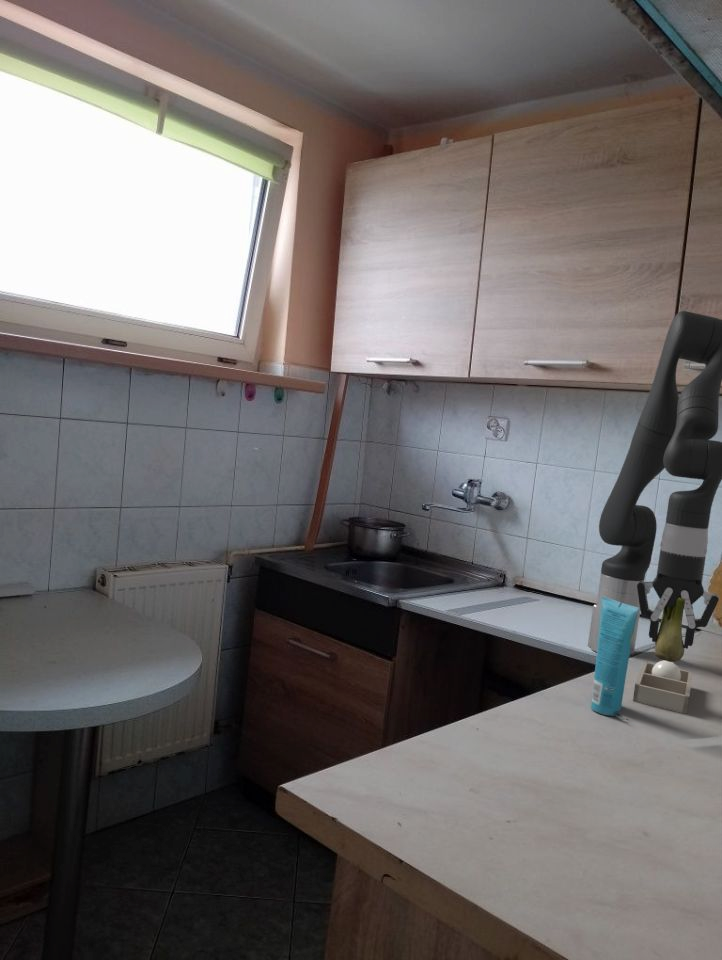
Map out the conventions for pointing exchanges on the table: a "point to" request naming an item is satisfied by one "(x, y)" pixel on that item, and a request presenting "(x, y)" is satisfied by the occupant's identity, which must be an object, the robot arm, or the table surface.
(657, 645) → the fennel bulb
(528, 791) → the table surface
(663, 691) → the tray
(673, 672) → the ceramic egg
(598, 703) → the tube
